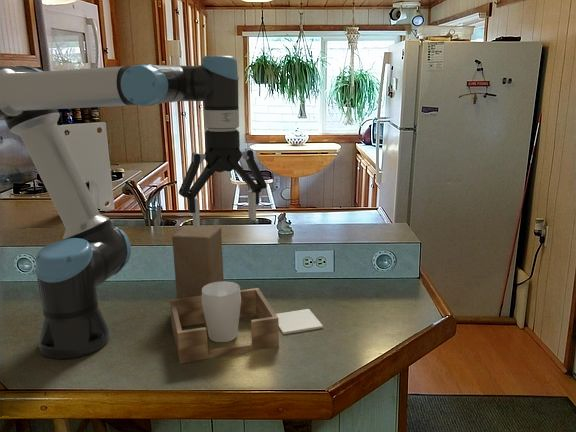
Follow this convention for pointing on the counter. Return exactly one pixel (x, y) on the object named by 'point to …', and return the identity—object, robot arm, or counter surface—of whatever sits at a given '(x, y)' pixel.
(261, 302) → the crate
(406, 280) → the counter surface
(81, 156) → the white tall tapered bar
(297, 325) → the mat
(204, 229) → the wooden block
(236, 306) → the cup
